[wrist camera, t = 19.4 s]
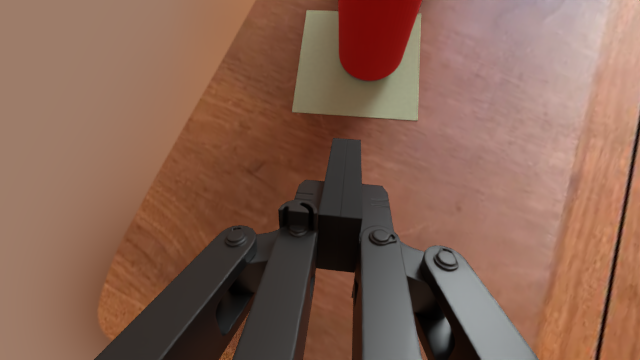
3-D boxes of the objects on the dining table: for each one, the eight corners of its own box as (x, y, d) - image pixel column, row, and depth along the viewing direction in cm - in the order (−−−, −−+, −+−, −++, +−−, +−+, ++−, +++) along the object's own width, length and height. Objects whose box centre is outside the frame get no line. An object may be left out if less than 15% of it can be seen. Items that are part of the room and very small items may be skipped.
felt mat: (291, 112, 26) (291, 111, 26) (306, 10, 29) (306, 10, 29) (417, 120, 25) (417, 120, 25) (420, 14, 28) (421, 13, 28)
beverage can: (327, 70, 27) (317, -62, 15) (358, 24, 28) (371, -133, 16) (381, 97, 26) (415, -24, 14) (411, 48, 27) (467, -103, 15)
